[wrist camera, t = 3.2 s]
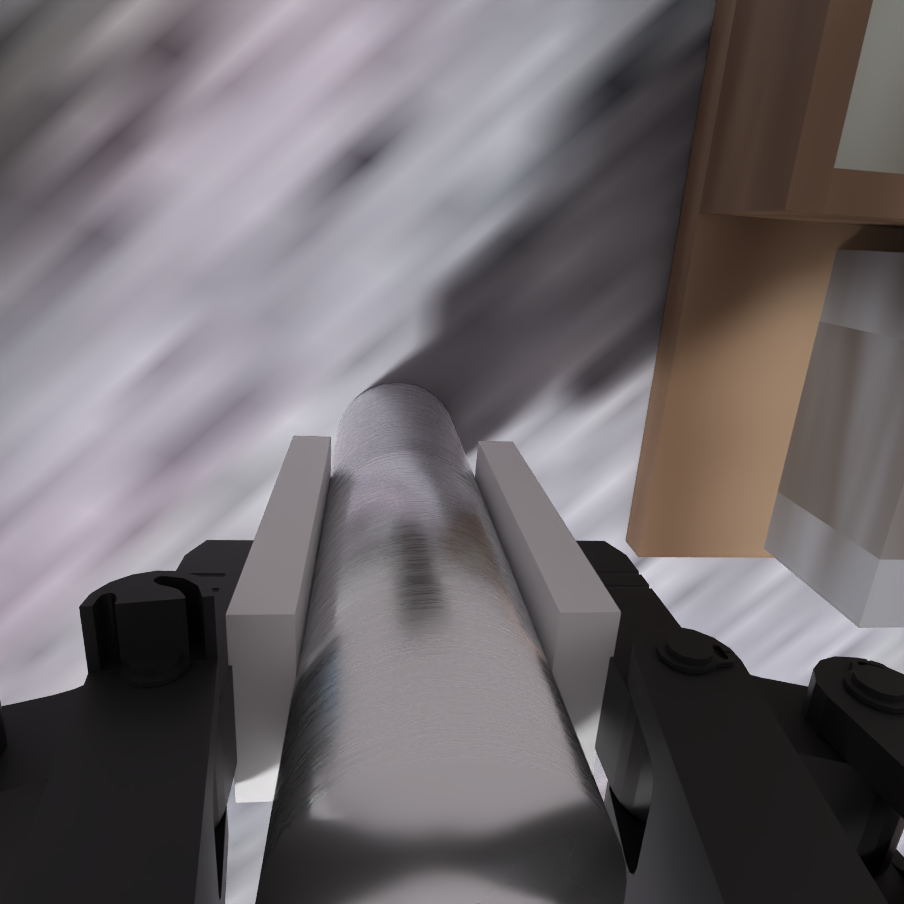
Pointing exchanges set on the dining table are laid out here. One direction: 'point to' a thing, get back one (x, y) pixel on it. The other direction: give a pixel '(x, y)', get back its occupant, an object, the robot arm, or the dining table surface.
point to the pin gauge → (426, 698)
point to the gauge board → (788, 309)
